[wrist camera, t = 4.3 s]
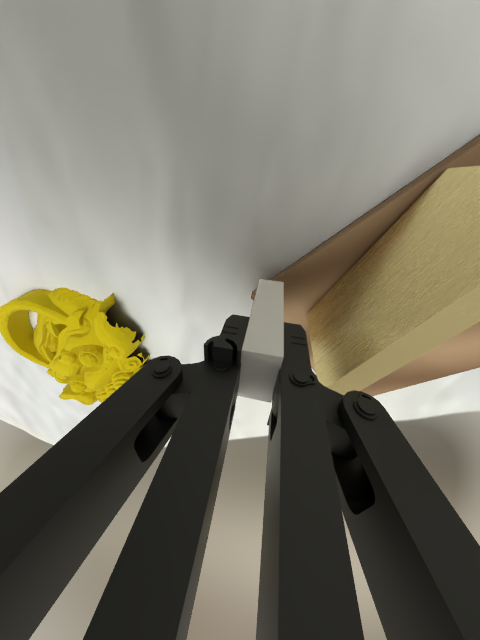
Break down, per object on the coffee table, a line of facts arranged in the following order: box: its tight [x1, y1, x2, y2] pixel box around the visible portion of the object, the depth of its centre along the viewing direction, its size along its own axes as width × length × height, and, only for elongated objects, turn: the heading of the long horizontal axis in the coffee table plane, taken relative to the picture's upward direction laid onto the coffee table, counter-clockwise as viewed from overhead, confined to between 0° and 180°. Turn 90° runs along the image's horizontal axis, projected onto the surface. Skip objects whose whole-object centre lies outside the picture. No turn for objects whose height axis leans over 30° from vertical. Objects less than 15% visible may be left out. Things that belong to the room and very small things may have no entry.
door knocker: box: [0, 288, 150, 405], centre depth 23 cm, size 16×16×4 cm
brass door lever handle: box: [306, 166, 480, 395], centre depth 9 cm, size 12×4×7 cm, turn 151°
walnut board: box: [251, 135, 480, 396], centre depth 14 cm, size 15×19×1 cm
